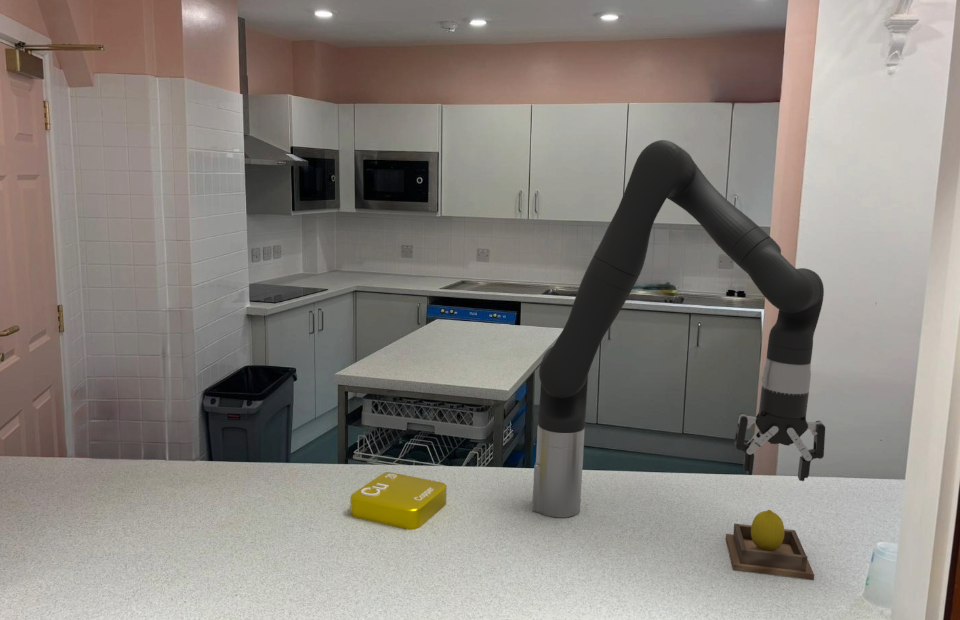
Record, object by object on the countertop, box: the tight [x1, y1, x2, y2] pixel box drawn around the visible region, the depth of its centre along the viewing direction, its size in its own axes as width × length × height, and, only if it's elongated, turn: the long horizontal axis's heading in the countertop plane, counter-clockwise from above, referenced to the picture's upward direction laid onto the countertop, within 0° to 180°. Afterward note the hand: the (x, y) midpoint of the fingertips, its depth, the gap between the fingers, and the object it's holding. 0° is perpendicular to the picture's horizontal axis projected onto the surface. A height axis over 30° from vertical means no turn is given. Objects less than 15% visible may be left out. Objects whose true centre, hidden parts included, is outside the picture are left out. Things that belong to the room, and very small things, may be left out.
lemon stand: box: [725, 522, 815, 581], centre depth 136 cm, size 13×12×4 cm
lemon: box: [751, 509, 785, 551], centre depth 136 cm, size 6×6×8 cm
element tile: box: [350, 471, 447, 531], centre depth 152 cm, size 15×15×5 cm
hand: (775, 476), depth 134 cm, fingers open, 8 cm apart
